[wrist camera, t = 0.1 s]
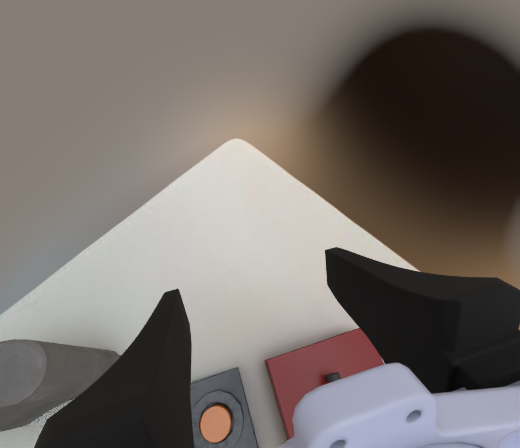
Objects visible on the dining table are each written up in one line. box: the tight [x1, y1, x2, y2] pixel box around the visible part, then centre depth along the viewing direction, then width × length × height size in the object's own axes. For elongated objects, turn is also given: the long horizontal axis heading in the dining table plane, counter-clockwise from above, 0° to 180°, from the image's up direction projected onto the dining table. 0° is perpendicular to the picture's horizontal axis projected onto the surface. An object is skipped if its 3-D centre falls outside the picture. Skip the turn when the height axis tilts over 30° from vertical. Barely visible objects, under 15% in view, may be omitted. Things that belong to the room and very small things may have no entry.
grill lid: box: [267, 328, 384, 439], centre depth 34 cm, size 14×12×4 cm
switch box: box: [190, 368, 258, 448], centre depth 37 cm, size 10×8×3 cm
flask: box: [0, 340, 120, 432], centre depth 30 cm, size 15×6×20 cm, turn 113°
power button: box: [200, 405, 232, 443], centre depth 35 cm, size 4×4×2 cm
